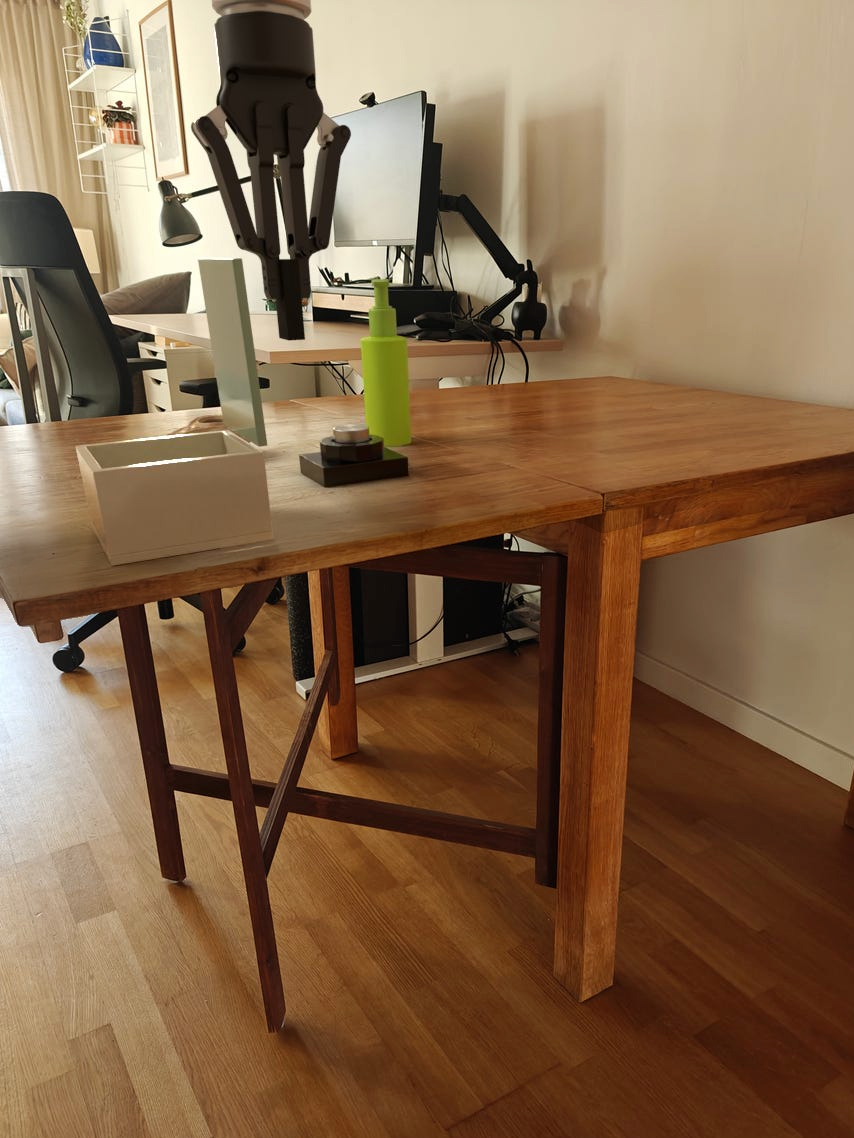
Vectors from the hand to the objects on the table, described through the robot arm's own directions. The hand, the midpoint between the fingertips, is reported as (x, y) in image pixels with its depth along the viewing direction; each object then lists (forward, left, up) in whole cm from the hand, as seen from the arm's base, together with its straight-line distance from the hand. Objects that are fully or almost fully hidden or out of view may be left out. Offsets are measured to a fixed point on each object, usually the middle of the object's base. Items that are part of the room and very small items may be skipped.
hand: (292, 338), depth 77 cm
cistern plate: (+10, +13, -16) cm, 23 cm away
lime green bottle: (+21, +28, -16) cm, 39 cm away
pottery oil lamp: (-3, +29, -16) cm, 33 cm away
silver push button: (+10, +13, -13) cm, 21 cm away
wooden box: (-12, 0, -16) cm, 20 cm away
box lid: (-6, 0, -1) cm, 6 cm away
